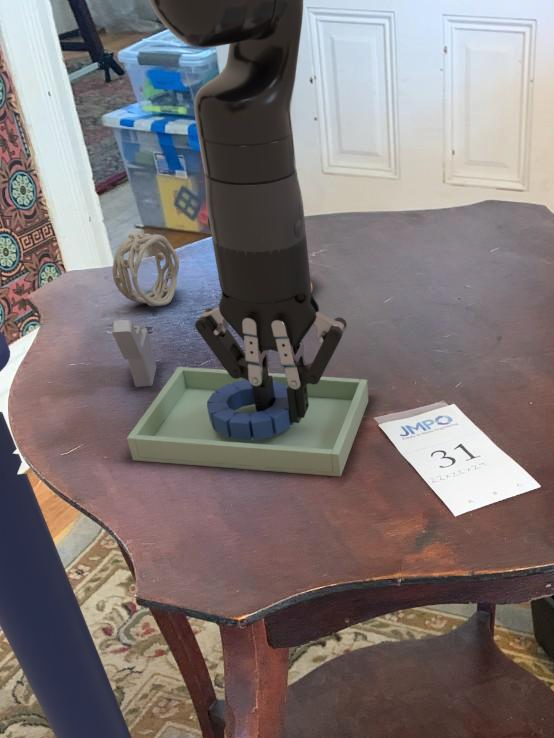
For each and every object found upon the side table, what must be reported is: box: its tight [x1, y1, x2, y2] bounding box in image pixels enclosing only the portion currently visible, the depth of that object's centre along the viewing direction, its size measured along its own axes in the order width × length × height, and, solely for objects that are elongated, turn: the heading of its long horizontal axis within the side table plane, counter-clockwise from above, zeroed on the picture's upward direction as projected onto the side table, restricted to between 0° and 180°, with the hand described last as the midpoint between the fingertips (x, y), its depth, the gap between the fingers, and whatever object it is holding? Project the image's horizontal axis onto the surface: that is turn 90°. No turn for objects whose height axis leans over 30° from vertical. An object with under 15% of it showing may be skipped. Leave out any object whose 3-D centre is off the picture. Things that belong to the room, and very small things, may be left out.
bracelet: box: [112, 232, 180, 307], centre depth 100 cm, size 4×8×8 cm, turn 157°
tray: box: [126, 366, 369, 477], centre depth 81 cm, size 19×13×2 cm
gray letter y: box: [111, 319, 157, 388], centre depth 85 cm, size 7×2×8 cm, turn 8°
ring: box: [207, 380, 293, 440], centre depth 80 cm, size 8×8×2 cm
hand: (283, 416), depth 80 cm, fingers closed on ring, 2 cm apart
